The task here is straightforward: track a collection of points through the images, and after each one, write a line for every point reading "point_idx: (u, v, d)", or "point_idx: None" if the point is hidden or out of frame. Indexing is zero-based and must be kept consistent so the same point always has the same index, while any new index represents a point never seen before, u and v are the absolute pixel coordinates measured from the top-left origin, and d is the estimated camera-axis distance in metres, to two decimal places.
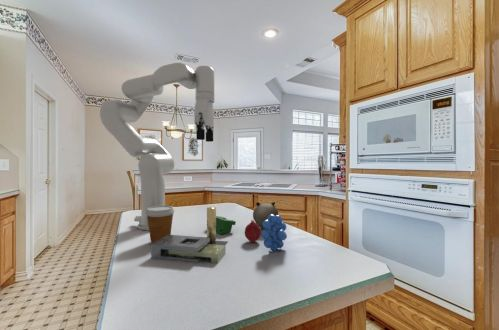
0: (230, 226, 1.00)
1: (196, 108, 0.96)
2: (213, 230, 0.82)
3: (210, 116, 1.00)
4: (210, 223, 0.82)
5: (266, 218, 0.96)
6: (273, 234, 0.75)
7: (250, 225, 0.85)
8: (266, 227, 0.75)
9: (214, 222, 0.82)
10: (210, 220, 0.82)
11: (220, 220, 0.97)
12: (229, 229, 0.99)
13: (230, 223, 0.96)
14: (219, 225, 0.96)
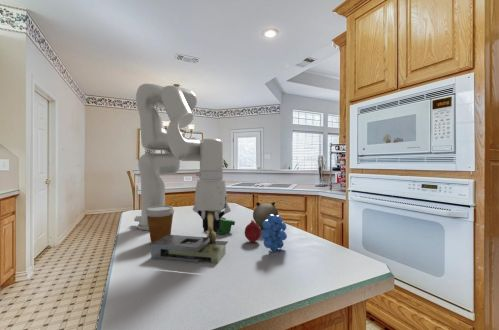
0: (229, 226, 0.99)
1: (223, 191, 0.80)
2: (213, 230, 0.82)
3: None
4: (210, 223, 0.82)
5: (266, 218, 0.96)
6: (273, 234, 0.75)
7: (250, 225, 0.85)
8: (266, 227, 0.75)
9: None
10: (210, 220, 0.82)
11: None
12: (228, 229, 0.99)
13: (229, 223, 0.96)
14: None
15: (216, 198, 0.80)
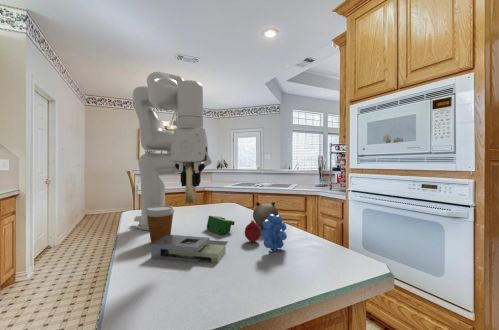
0: (229, 226, 0.99)
1: (203, 140, 0.71)
2: (192, 185, 0.73)
3: None
4: (189, 176, 0.72)
5: (266, 218, 0.96)
6: (273, 234, 0.75)
7: (250, 225, 0.85)
8: (266, 227, 0.75)
9: None
10: (188, 173, 0.72)
11: (219, 220, 0.96)
12: (228, 229, 0.99)
13: (229, 223, 0.96)
14: (218, 226, 0.96)
15: (195, 147, 0.70)
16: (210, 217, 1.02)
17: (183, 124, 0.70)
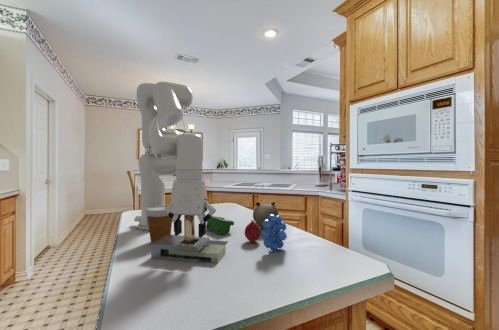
0: (228, 226, 0.99)
1: (202, 193, 0.71)
2: (191, 240, 0.73)
3: None
4: (188, 232, 0.73)
5: (266, 218, 0.96)
6: (273, 234, 0.75)
7: (250, 225, 0.85)
8: (266, 227, 0.75)
9: (192, 231, 0.73)
10: (187, 228, 0.73)
11: (218, 220, 0.96)
12: (227, 230, 0.99)
13: (228, 223, 0.96)
14: (217, 226, 0.96)
15: (194, 201, 0.71)
16: None
17: (182, 178, 0.70)
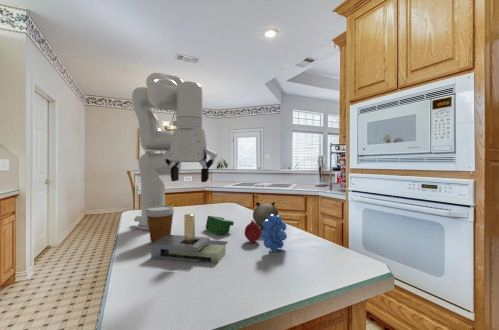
0: (228, 226, 0.99)
1: (202, 140, 0.72)
2: (191, 240, 0.73)
3: None
4: (188, 232, 0.73)
5: (266, 218, 0.96)
6: (273, 234, 0.75)
7: (250, 225, 0.85)
8: (266, 227, 0.75)
9: (192, 231, 0.73)
10: (187, 228, 0.73)
11: (218, 220, 0.96)
12: (227, 230, 0.99)
13: (228, 223, 0.96)
14: (217, 226, 0.96)
15: (194, 147, 0.72)
16: (209, 217, 1.01)
17: (182, 125, 0.71)
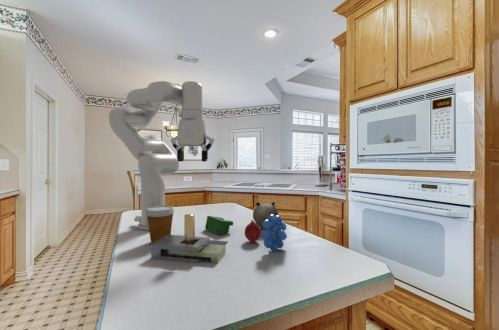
0: (228, 227, 0.99)
1: (202, 128, 0.91)
2: (191, 240, 0.73)
3: None
4: (188, 232, 0.73)
5: (266, 218, 0.96)
6: (273, 234, 0.75)
7: (250, 225, 0.85)
8: (266, 227, 0.75)
9: (192, 231, 0.73)
10: (187, 228, 0.73)
11: (217, 220, 0.96)
12: (227, 230, 0.99)
13: (228, 224, 0.95)
14: (216, 226, 0.96)
15: (196, 133, 0.90)
16: (209, 217, 1.01)
17: (186, 115, 0.90)
